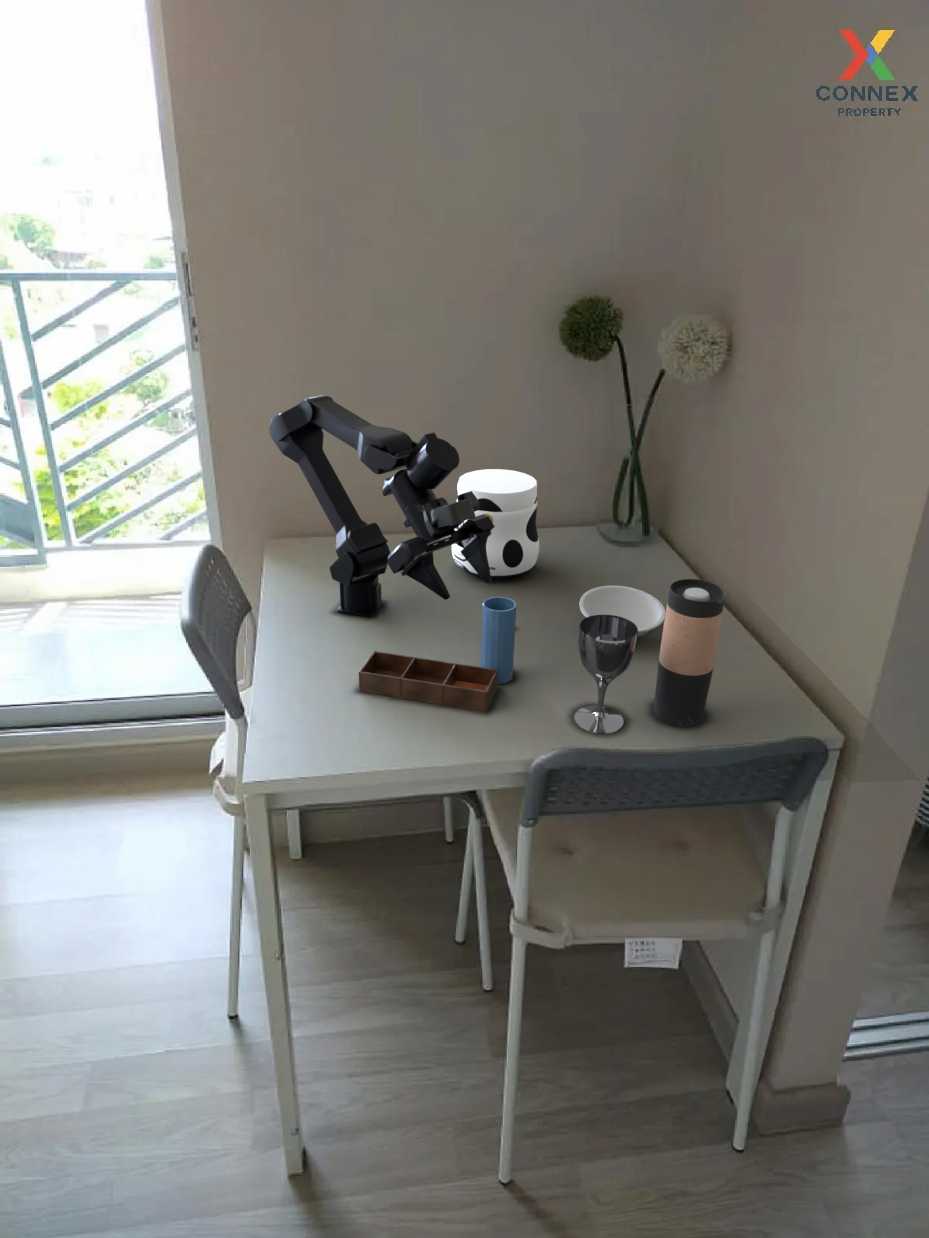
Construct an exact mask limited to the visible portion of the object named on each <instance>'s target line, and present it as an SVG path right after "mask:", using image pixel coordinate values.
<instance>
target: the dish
mask: <svg viewBox="0 0 929 1238" xmlns="http://www.w3.org/2000/svg"><path fill="white" fill-rule="evenodd" d="M578 604H579V609H580V612H581V613H582V615H583V616H584V617H585V618H587V617H589V616H593V615H615V616H619V617H623V618H625V619H628V620H630V621H631V622H633V623H634V624H635V625H636V626H637V628H638V636H637V638H638V637H641V636H644V635H646V634H648V633H650V632H651V631H652V630H654V629H656V628H658V627H659V626H661V625H662V624H663V623H664V621H665V614H666V609H665V607H664V605H663V604H662V602H661V601H660V600H659V599H657V598H656V597H655V596H653V595H652V594H650V593H647V592H646V591H644V590H640V589H638V588H636V587H635V588H634V587H632V586H631V587H630V586H626V585H603V586H602V585H601V586H596V587H594V588H591V589H589V590H587V591H585V592H584V593H583V594H582V596H581V597H580V599H579V603H578Z"/></svg>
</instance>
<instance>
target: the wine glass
mask: <svg viewBox="0 0 929 1238" xmlns="http://www.w3.org/2000/svg"><path fill="white" fill-rule="evenodd" d="M637 636H638V628H637V626H636V625H635V624H634V623H633V622H631V621H630V620H628V619H625V618H623V617H619V616H615V615H593V616H589V617H587V618H586V617H585V618H583V619H582V620H581V621H580V623H579V629H578V652H579V658H580V661H581V665H582V666H583V667H584V669H585V670H586V671H587V672H588V673H589V675H590V676H591V677H592V678H593V680H594V681H595V683H596V685H597V705H588V706H583V707H581V708H579V709H578V710H577V711H576V712H575V713H574V715H573V719H574V722H575V724H576V725H577V726H578V727H580V728H581V729H583V730H585V731H587V732H590V733H594V734H595V733H596V734H611V733H615V732H617V731H620V729H622V727H623V726H624V723H625V722H624V721H625V720H624V717H623V716H622V715H621V714H620V713H619V712H618V711H617V710H615V709H613V708H611V707H607V706H604V701H605V697H606V692H607V689H608V687H609V685H610V684H611V683H612V682H613V681H614V680H615V679H616V678H618V677H619V676H621V675H622V674H624V672H626V670H628V668H629V666H630V665H631V663H632V660H633V658H634V655H635V651H636V647H637V642H638V637H639V636H638V637H637Z"/></svg>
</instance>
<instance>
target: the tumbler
mask: <svg viewBox="0 0 929 1238" xmlns="http://www.w3.org/2000/svg"><path fill="white" fill-rule="evenodd" d="M516 622H517V602H516V601H515V600H514V599H512V598H509V597H504V596H491V597H487V598H486V599H484V600H483V602H482V614H481V641H480V642H481V645H480V667H484V668H491V669H497V670H498V684H497V685H499V684H505V683H508V682H510V681H512V680H513V676H514V675H513V674H514V664H515V663H514V662H515V661H514V660H515V644H516V643H515V642H516V624H517V623H516Z"/></svg>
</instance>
